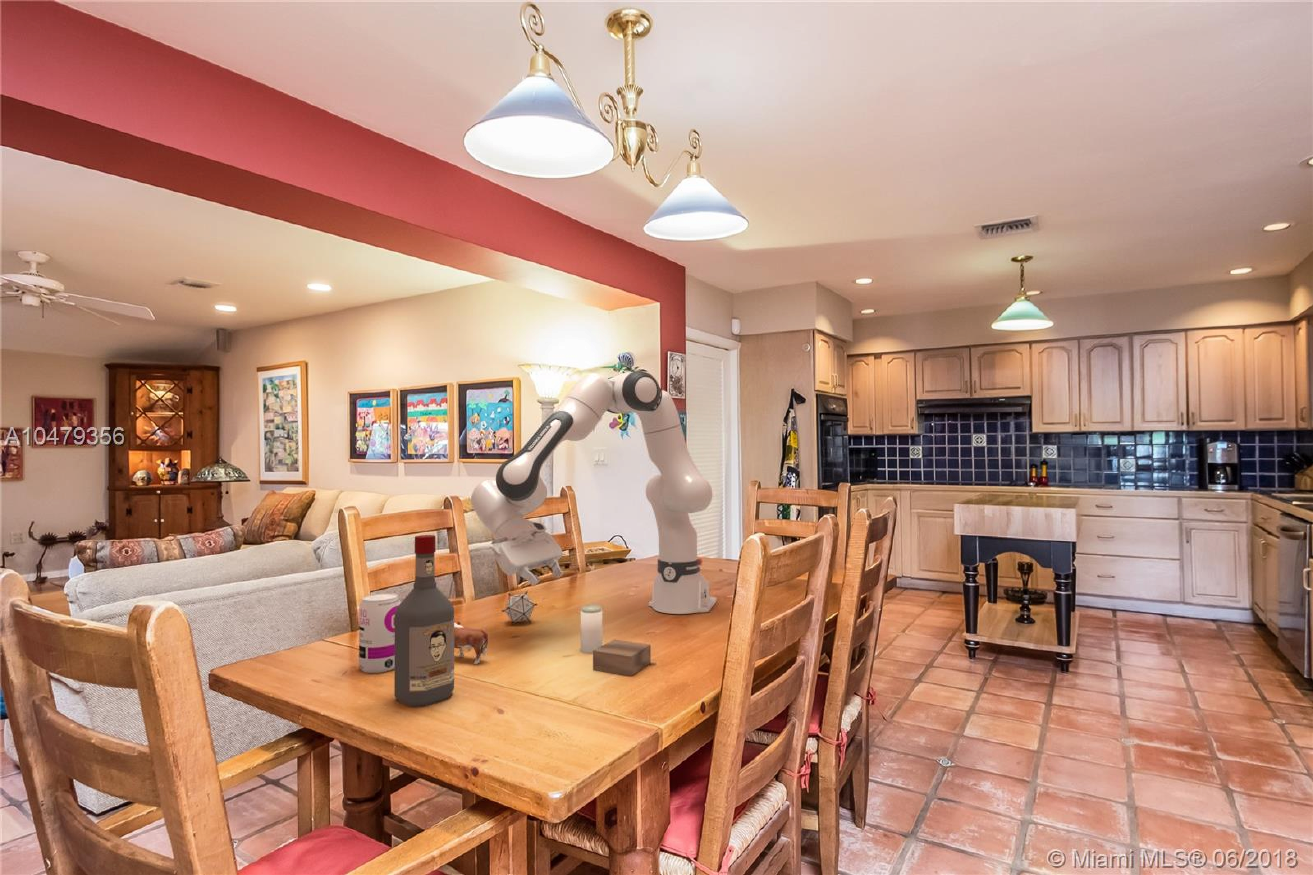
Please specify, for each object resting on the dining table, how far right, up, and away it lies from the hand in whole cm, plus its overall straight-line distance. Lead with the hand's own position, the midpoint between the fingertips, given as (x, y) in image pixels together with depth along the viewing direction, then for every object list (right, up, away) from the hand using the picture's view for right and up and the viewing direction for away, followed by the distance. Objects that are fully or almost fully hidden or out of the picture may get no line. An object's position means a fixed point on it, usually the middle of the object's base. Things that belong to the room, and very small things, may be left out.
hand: (548, 579), depth 157 cm
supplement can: (-33, -15, -18) cm, 40 cm away
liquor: (-18, -15, -34) cm, 41 cm away
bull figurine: (-17, -15, -12) cm, 26 cm away
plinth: (+19, -15, -17) cm, 29 cm away
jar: (+11, -15, -6) cm, 19 cm away
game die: (-11, -16, +18) cm, 27 cm away
